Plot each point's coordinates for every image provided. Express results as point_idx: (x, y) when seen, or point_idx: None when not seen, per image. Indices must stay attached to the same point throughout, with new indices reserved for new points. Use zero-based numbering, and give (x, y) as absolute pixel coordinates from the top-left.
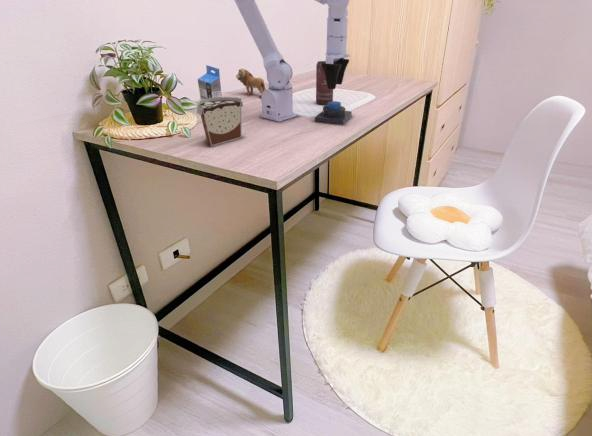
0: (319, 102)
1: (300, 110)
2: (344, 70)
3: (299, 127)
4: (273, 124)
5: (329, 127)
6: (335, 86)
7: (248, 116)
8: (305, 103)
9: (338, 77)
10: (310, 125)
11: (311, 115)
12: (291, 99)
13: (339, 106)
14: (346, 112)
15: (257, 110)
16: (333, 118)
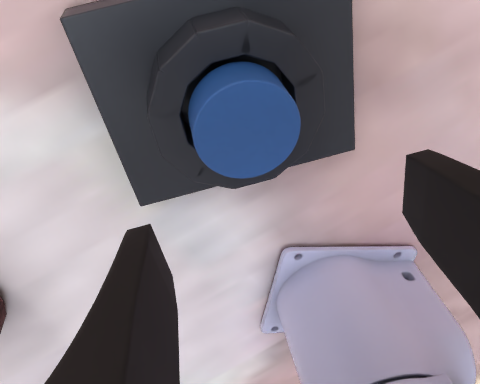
0: (3, 311)
1: (183, 294)
2: (112, 356)
3: (460, 141)
4: None
5: (413, 7)
6: (445, 157)
7: None
8: (45, 350)
9: (161, 309)
10: (411, 119)
11: (232, 215)
12: (358, 322)
13: (253, 72)
14: (123, 41)
15: (291, 374)
16: (335, 41)
